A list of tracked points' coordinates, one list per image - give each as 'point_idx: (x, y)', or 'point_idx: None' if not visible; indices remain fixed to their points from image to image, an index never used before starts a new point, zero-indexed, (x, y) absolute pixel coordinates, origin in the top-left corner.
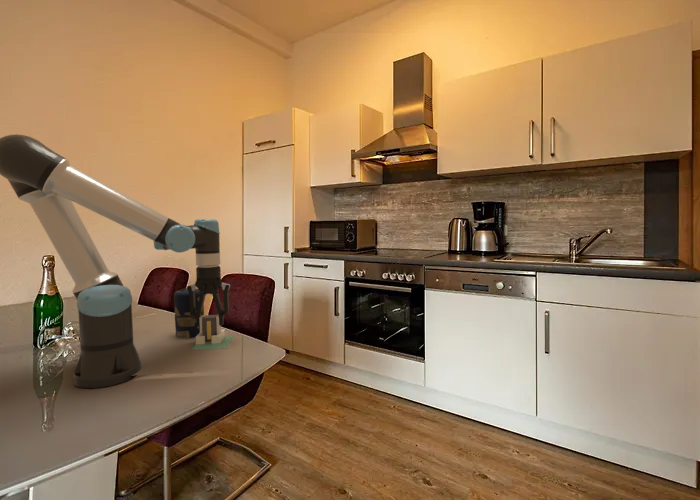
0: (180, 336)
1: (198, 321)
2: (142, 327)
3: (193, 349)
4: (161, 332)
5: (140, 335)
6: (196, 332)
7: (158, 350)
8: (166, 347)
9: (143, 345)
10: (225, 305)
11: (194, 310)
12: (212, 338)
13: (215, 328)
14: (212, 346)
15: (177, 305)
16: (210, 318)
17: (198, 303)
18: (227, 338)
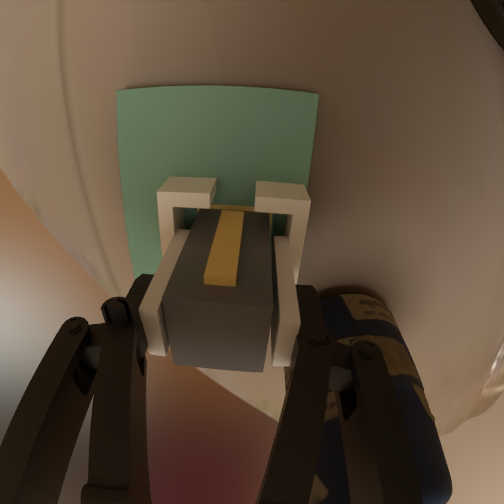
0: (381, 306)
1: (307, 308)
2: (444, 404)
3: (304, 98)
4: None
5: (465, 358)
6: None
7: (453, 199)
8: (427, 230)
9: (482, 273)
10: (51, 374)
11: (346, 395)
12: (205, 187)
13: (183, 247)
14: (202, 127)
15: (435, 436)
16: (202, 297)
17: (319, 440)
18: (154, 249)
